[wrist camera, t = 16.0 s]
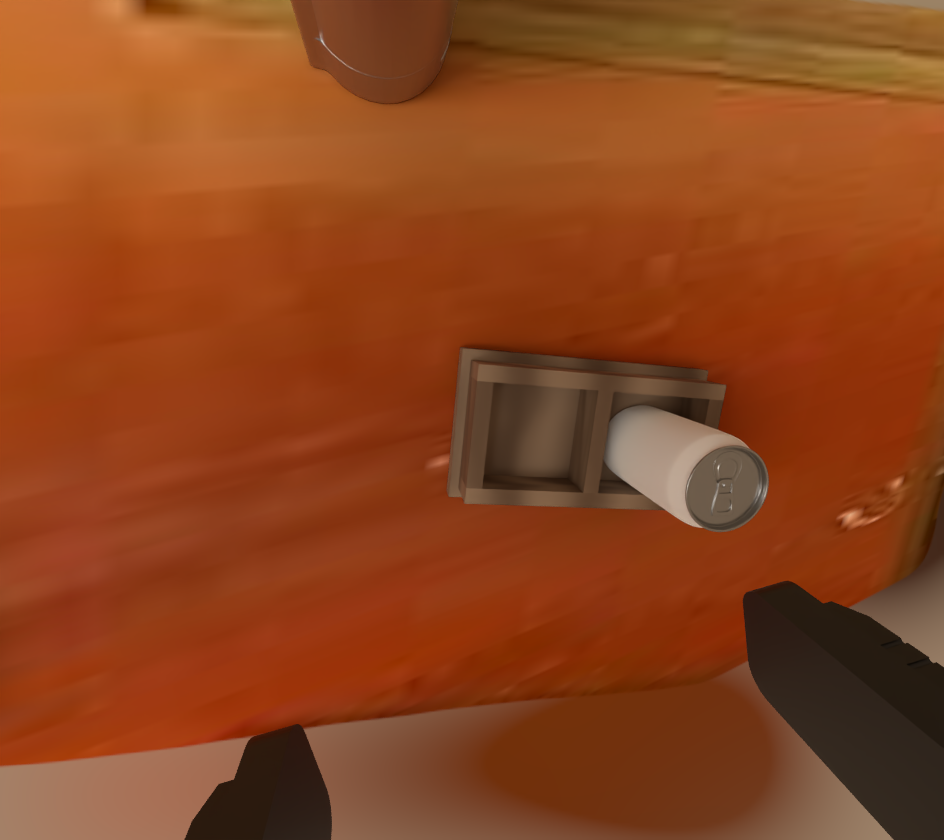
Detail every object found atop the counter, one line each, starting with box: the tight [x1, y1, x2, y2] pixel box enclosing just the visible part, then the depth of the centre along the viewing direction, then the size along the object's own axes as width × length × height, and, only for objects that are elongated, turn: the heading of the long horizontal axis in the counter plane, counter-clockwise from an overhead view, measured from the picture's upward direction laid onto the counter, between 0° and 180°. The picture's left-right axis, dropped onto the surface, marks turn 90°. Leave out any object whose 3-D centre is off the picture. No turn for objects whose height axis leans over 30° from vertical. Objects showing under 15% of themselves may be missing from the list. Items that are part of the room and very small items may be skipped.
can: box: [603, 405, 769, 532], centre depth 37 cm, size 6×6×12 cm
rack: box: [447, 347, 726, 510], centre depth 40 cm, size 21×12×5 cm, turn 84°
